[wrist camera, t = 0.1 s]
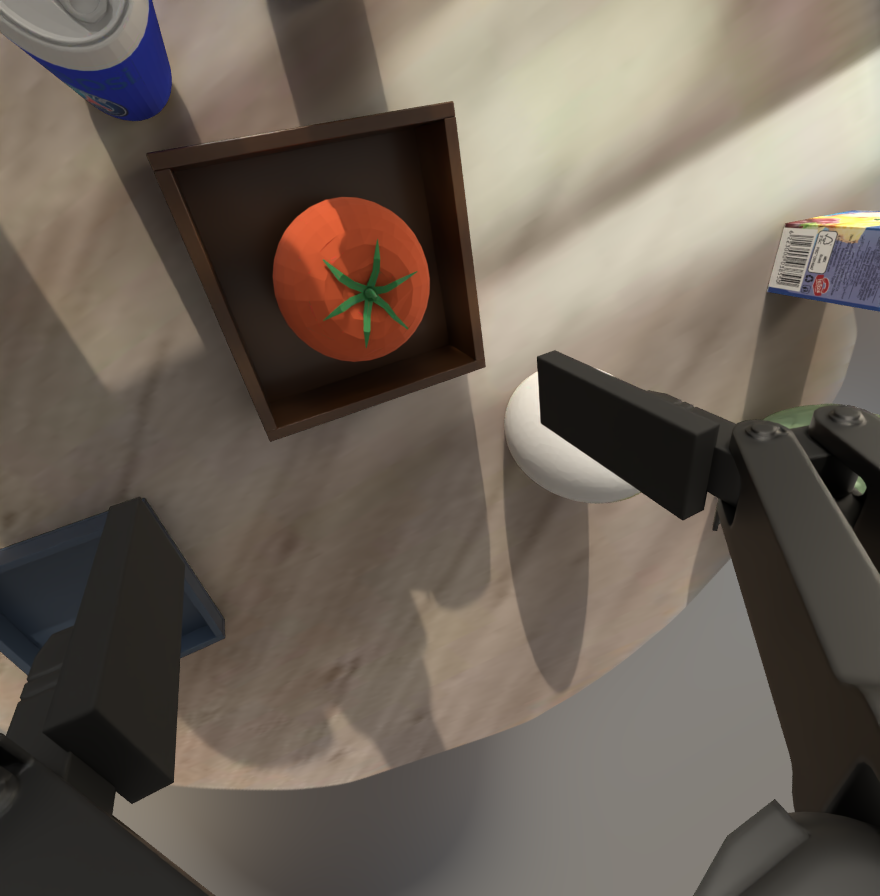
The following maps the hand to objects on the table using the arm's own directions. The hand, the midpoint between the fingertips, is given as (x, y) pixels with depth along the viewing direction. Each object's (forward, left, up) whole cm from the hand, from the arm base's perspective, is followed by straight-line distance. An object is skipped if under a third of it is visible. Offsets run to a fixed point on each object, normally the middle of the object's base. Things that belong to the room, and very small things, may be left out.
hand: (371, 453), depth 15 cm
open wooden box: (-1, +5, -24) cm, 25 cm away
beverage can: (-15, -4, -24) cm, 28 cm away
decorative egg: (+17, +22, -24) cm, 37 cm away
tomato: (-1, +5, -24) cm, 24 cm away
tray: (+19, -21, -24) cm, 37 cm away
